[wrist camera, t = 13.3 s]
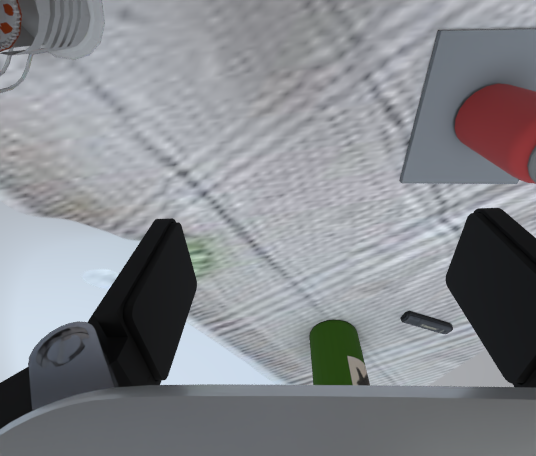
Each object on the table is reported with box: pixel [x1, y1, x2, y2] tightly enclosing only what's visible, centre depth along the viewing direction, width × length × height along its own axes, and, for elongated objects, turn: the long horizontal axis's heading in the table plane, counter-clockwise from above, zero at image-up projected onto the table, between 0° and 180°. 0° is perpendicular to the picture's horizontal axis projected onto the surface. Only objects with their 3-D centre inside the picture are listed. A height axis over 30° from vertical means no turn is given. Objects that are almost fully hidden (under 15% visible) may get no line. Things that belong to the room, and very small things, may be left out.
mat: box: [400, 29, 536, 184], centre depth 33 cm, size 16×14×1 cm
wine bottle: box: [310, 320, 370, 386], centre depth 43 cm, size 9×9×32 cm
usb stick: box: [401, 311, 453, 334], centre depth 53 cm, size 10×3×2 cm, turn 70°
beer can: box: [455, 84, 536, 183], centre depth 28 cm, size 7×7×12 cm
